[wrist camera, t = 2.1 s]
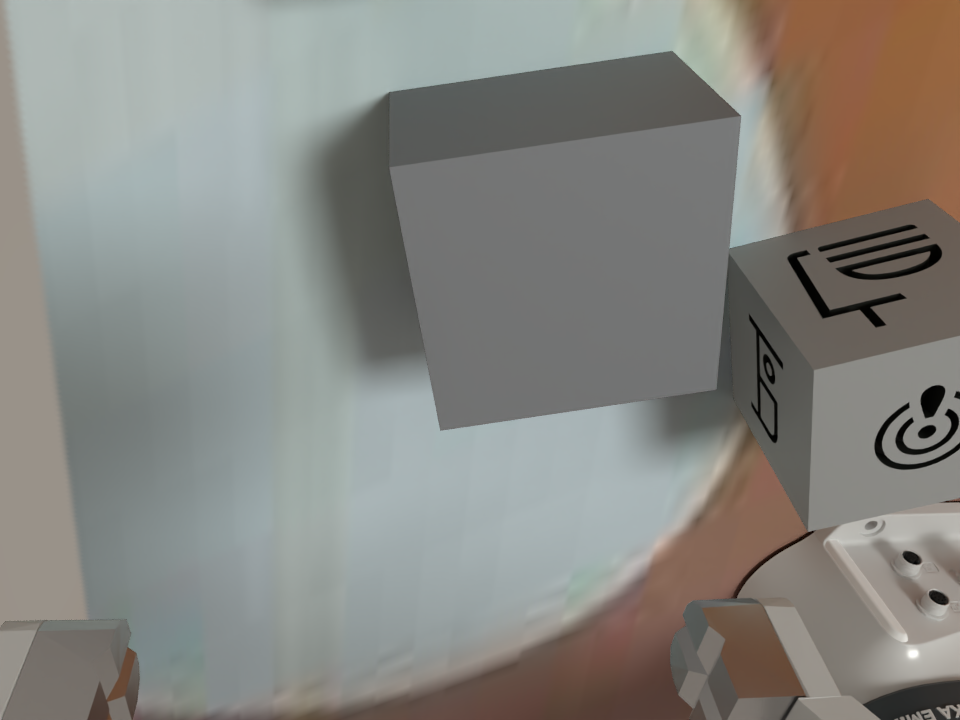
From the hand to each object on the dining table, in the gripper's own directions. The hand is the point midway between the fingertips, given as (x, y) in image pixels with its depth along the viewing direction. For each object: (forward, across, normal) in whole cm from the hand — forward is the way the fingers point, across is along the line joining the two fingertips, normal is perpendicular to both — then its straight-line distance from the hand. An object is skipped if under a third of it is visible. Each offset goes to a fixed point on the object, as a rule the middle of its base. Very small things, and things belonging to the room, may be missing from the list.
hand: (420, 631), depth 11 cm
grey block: (+26, -7, +5) cm, 27 cm away
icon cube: (+26, -23, +10) cm, 36 cm away
